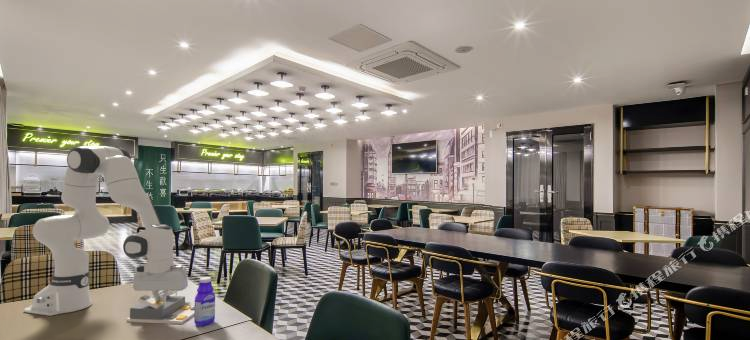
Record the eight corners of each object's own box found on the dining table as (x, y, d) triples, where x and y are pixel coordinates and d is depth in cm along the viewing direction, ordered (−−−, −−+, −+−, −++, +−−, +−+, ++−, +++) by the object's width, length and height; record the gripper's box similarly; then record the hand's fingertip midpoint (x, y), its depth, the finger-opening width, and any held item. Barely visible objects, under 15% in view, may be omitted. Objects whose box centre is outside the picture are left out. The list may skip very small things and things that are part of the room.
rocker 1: (138, 301, 139) (139, 298, 139) (145, 298, 143) (146, 294, 143) (156, 308, 139) (158, 305, 139) (163, 305, 143) (164, 301, 143)
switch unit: (126, 321, 138) (126, 306, 138) (153, 306, 154) (154, 293, 154) (181, 323, 137) (182, 308, 137) (203, 308, 153) (204, 294, 153)
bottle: (199, 328, 134) (201, 281, 134) (191, 324, 137) (192, 278, 137) (217, 321, 140) (218, 276, 140) (208, 318, 143) (210, 274, 143)
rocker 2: (154, 299, 149) (153, 295, 149) (160, 295, 153) (160, 292, 153) (172, 294, 149) (171, 290, 149) (178, 291, 153) (177, 287, 153)
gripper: (191, 264, 144) (191, 298, 143) (141, 264, 145) (141, 298, 144) (181, 267, 138) (181, 304, 137) (130, 268, 138) (130, 304, 138)
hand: (160, 301), depth 141 cm, fingers closed
